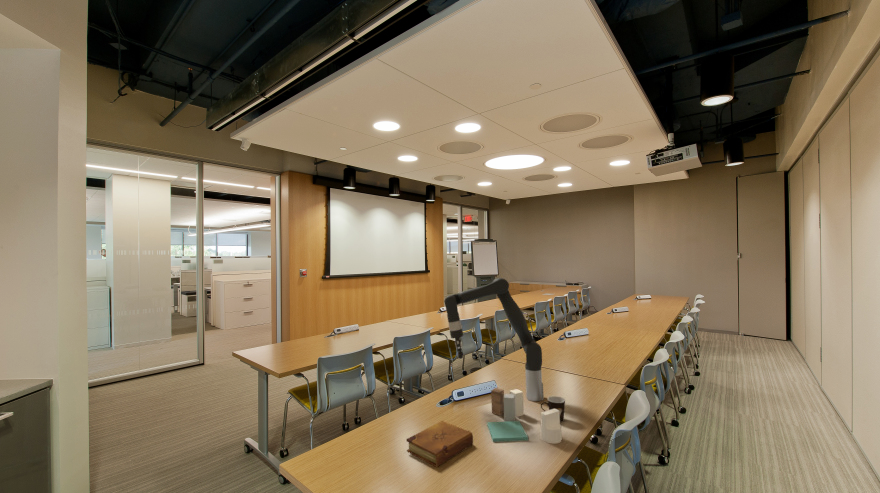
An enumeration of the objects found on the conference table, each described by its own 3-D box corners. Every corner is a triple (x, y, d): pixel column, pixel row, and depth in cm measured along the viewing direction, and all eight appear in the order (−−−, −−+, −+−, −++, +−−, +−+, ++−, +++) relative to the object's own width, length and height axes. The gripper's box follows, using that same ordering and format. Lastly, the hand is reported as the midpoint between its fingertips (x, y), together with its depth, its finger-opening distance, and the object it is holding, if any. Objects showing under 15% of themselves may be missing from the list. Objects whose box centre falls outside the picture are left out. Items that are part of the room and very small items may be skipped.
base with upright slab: (551, 445, 153) (550, 417, 154) (536, 436, 161) (535, 410, 162) (566, 440, 157) (564, 413, 158) (551, 431, 165) (550, 406, 166)
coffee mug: (566, 417, 180) (565, 397, 180) (565, 424, 172) (564, 403, 172) (543, 413, 185) (542, 394, 185) (540, 420, 177) (540, 400, 177)
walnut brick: (496, 409, 191) (495, 387, 192) (504, 412, 188) (503, 389, 188) (491, 413, 187) (491, 390, 188) (500, 415, 184) (499, 392, 185)
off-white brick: (517, 411, 188) (516, 388, 189) (523, 414, 184) (522, 391, 184) (510, 413, 186) (509, 390, 187) (516, 417, 182) (515, 393, 182)
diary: (437, 469, 139) (437, 454, 139) (406, 452, 152) (406, 439, 152) (473, 445, 156) (472, 432, 156) (442, 432, 169) (442, 420, 169)
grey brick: (505, 417, 182) (504, 393, 183) (515, 418, 180) (514, 394, 181) (504, 421, 177) (503, 397, 178) (514, 422, 176) (513, 398, 176)
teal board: (519, 424, 174) (519, 420, 174) (528, 440, 158) (527, 437, 158) (487, 425, 173) (487, 422, 173) (493, 441, 157) (492, 438, 158)
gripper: (461, 329, 198) (467, 358, 195) (462, 326, 212) (467, 353, 210) (448, 331, 198) (454, 360, 196) (450, 328, 212) (455, 355, 210)
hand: (461, 356), depth 203 cm, fingers open, 8 cm apart
